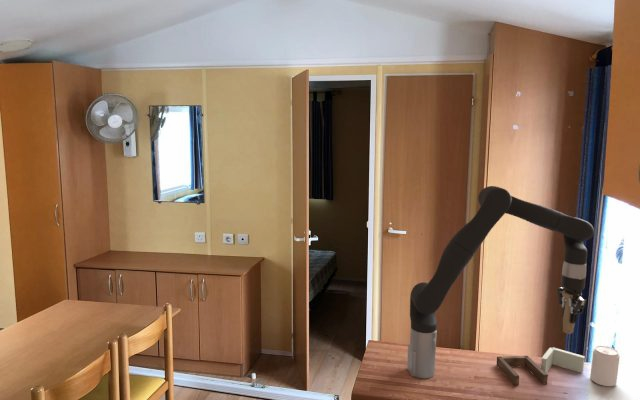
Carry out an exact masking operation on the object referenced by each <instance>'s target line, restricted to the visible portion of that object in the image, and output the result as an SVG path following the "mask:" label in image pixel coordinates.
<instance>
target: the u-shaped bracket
mask: <svg viewBox="0 0 640 400" xmlns="http://www.w3.org/2000/svg"><path fill="white" fill-rule="evenodd" d="M496 366H497V368H498V367H499V368H498V369H499V370H500V371H501V372H502V373H503V374H504V376H505V377H507V379H508V380H509V381H510V382H511V383H512V384H513V386H519V385H520V384H519V383H520V375H519V373H517V372H516V370H514V367H516V368H517V367H518V366H521V367H525V368H526V367H527V368H528V369H529V370H530V371H531V372H532V373H533V374H532V373H531V372H530V371H529V370H528V369H527V368H526V369H527V370H528V371H529V372H530V373H531V374H532V375H533V376H534V377H535V378H536V379H537V380H538V381H539V382H540V383H541V384H542V385H547V384H548V377H549V375H548V374H549V373H548V372H544V371H543V370H542V369H541V366H539V365H538V364H537V363H536V362H535V361H534V360H533V359H532V358H531V357H529V355H508V356H504V355H503V356H497V357H496Z"/></svg>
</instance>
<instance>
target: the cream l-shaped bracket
mask: <svg viewBox="0 0 640 400" xmlns="http://www.w3.org/2000/svg"><path fill="white" fill-rule="evenodd" d="M585 358H586V356H585V355H582V354H577V353H575V352H571V351H568V350H563V349H561V348H557V347H554V346H553V347H549V348H548V349H547V350H546V351H545V353H544V354H543V356H542V357H541V362H540V368H541V369H542V370H543V371H544V372H546V373H548V371H549V370H550V368H551V367H552V366H553V365H554V366H557V367H561V368H564V369H567V370H570V371H574V372H578V373H581V374H583V372H584V369H585V367H584V366H585Z"/></svg>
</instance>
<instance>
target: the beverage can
mask: <svg viewBox="0 0 640 400" xmlns="http://www.w3.org/2000/svg"><path fill="white" fill-rule="evenodd" d="M620 358H621V356H620V355H619V351H618V350H617V349H615V348H614V347H610V346H608V345H607V346H606V345H596V346H595V348H594V349H593V351H592V359H591V365H590V366H591V368H590V375H589V377H590V379H591V381H593V382H594V383H596V384H597V385H600V386H603V387H614V386H616V385H617V382H618V381H617V380H618V373H619V365H620Z"/></svg>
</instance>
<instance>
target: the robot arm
mask: <svg viewBox="0 0 640 400" xmlns="http://www.w3.org/2000/svg"><path fill="white" fill-rule="evenodd" d="M477 200H478V204H479V206H480V207H479V209H478V210H477V211H476V214H475V215H474V217H472V219H471V220H470V221H469V222H468V223H466V224H465V225H464V226H462V227H461V228H460V229H459V230H458V231H457V232H456V233H455V234H454V235H453V237H451V239H450V240H449V242H448V243H447V245H446V246H445V248H444V249H443V251H442V253H441V255H440V259H439V262H438V265H437V268H436V271H435V272H434V273H433V274H434V275H433V276H432V278H431V279H430V280H429V281H428V282H418V283H417V284H414V286H413V287H412V289H411V292H410V299H409V317H410V318H409V320H410V336H409V337H410V338H409V339H410V340H409V344H408V345H407V362H406V364H407V365H406V369H407V371H408V373H409V374H410V376H411V377H413V378H418V379H430V378H433V376H435V370H436V351H437V350H436V348H437V334H438V333H437V331H438V322H437V316H436V311H438V310H439V308H440V307H441V305H442V304H443V301H444V300H445V299H446V296H447V295H448V293H449V291H450V289H451V287H452V286H453V284H454V283H455V281H456V280H457V279H458V278H459V276H460V275H461V273H462V272H463V270H464V269H465V268H466V266H468V264H469V262H470V261H471V260H472V258H473V257H474V255H475V254H476V252H477V251H478V249H479V248H480V247H481V245H482V244H483V242H484V240H485V239H486V238H487V237H488V235H489V234H490V232H491V230H492V229H493V228H494V227H495V226H496V224H497V223H498V222H499V221H500V220H501V218H502V217H503V216H504V215H505V214H506V215H507V214H508V215H511V216H514V217H517V218H519V219H521V220H524V221H526V222H528V223H530V224H534V225H535V226H538V227H541V228H543V229H547V230H549V231H552V232H557V233H560V234H562V235H563V240H564V248H565V249H564V256H563V257H564V259H563V264H562V271H561V280H560V281H561V282H560V286H561V287H557V293H558V296H557V297H558V304H559V305H561V308H562V311H561V312H562V313H561V317H562V318H563V315H564V309H565V303H566V298H565V297H564V296H562V291H564V292H568V293H570V294H569V295H573V298H571V297H570V298H569V306H570V309H571V313H570V320H569V322H570V323H575V324H576V323H578V322H577V321H578V314H583V313H584V310H585V307H586V305H587V299H584V298H583V296H582V295H583V294H582V295H581V293H582V291H583V290H584V289H585V287H586V277H587V261H588V260H587V259H588V249H587V247H586V246H585V243H584V241H588V240H591V238H592V237H593V236H594V234H595V229H594V227H593V225H592V224H591V223H590V222H589V221H587V220H584V219H582V218H579V217H573V216H570V215H567V214H566V213H563V212H561V211H558V210H555V209H553V208H550V207H547V206H543V205H541V204H536V203H533V202H530V201H527V200H524V199H520V198H518V197H514V196H513V195H511V193H510V191H508V190H507V189H505V188H503V187H499V186H496V185H491V186H486V187H484V188H482V189H481V190H480V192H479V193H478V196H477ZM572 303H576V304H572ZM574 307H575V310H574Z"/></svg>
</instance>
